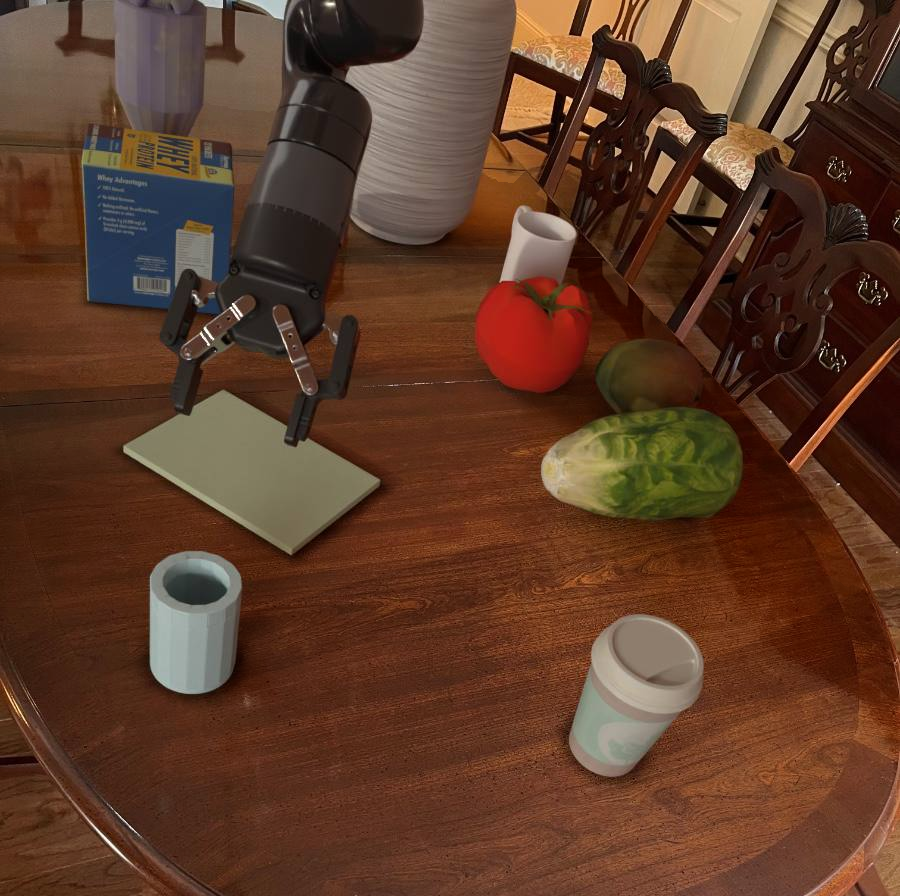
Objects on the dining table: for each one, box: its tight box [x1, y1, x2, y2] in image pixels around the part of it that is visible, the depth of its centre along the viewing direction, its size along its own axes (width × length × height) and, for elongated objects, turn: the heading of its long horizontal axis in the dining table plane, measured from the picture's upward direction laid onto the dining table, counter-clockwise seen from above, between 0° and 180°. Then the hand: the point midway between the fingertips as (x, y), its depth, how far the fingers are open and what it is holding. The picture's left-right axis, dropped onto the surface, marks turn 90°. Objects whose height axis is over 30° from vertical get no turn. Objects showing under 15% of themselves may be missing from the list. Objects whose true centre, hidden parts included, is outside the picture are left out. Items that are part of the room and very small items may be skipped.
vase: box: [345, 0, 518, 246], centre depth 128 cm, size 20×20×34 cm
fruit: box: [594, 338, 703, 414], centre depth 113 cm, size 12×13×10 cm
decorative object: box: [113, 0, 208, 137], centre depth 119 cm, size 10×10×30 cm
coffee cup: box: [568, 613, 705, 778], centre depth 76 cm, size 8×8×12 cm
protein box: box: [80, 122, 236, 315], centre depth 109 cm, size 10×15×16 cm
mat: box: [123, 389, 381, 556], centre depth 95 cm, size 20×14×1 cm
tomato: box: [474, 276, 593, 394], centre depth 114 cm, size 13×14×12 cm
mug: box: [499, 205, 578, 286], centre depth 129 cm, size 12×8×10 cm, turn 19°
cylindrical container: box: [149, 550, 243, 695], centre depth 74 cm, size 6×6×9 cm
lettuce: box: [540, 407, 744, 522], centre depth 100 cm, size 12×21×11 cm, turn 109°
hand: (236, 429), depth 74 cm, fingers open, 8 cm apart
